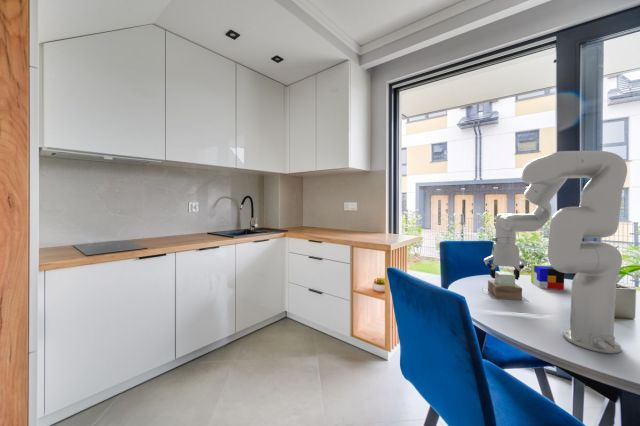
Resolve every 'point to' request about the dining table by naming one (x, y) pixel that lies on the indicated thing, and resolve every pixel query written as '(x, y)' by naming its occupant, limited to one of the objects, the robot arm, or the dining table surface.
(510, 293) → the walnut block
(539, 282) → the puzzle toy
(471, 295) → the dining table surface
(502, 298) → the baseplate
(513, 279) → the sage brick
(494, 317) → the dining table surface
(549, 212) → the robot arm
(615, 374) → the dining table surface
